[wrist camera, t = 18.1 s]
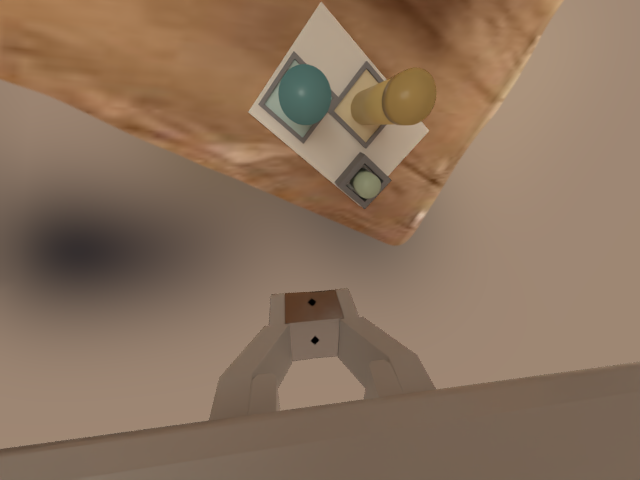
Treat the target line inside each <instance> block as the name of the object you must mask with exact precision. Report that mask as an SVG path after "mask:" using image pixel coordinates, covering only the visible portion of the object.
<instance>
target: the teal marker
mask: <svg viewBox="0 0 640 480" xmlns="http://www.w3.org/2000/svg"><path fill="white" fill-rule="evenodd" d="M278 96H279V102H280V106H281V108H282V110H283V112H284V113H285V115H286V116H287V117H288V118H289V119H290V120H291V121H293V122H295V123H297V124H300V125H312V124H315V123H317V122H318V121H320V120H321V119H322V118H323V117H324V116H325V115H326V113H327V111H328V109H329V107H330V103H331V88H330V84H329V82H328V80H327V78H326V76H325V75H324V74H323V73H322V71H320V70H319V69H318V68H316V67H314V66H312V65H308V64H300V65H296V66H294V67H292V68H291V69H289V70H288V71H287V72H286V73H285V74H284V76H283V78H282V79H281V82H280V85H279V91H278Z"/></svg>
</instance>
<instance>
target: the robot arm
mask: <svg viewBox="0 0 640 480" xmlns="http://www.w3.org/2000/svg"><path fill="white" fill-rule="evenodd" d="M335 356H338V358H339V359H340V360H341V361H342V362H343V364H344V365H345V366H346V367H347V368H348V369H349V370H350V371H351V373H353V375H354V376H355V377H356V378H357V379H358V381H359V382H360V383H361V384H362V385H363V386H364V387H365V395H364V400H356V401H349V402H342V403H334V404H327V405H320V406H312V407H305V408H298V409H291V410H283V411H280V405H279V396H278V388H279V386H280V384H281V382H282V380H283V379H284V377H285V375H286V373H287V371H288V369H289V368H290V366H291V364H292V361H298V360H306V359H312V358H323V357H335ZM0 480H640V362H634V363H627V364H620V365H613V366H605V367H598V368H591V369H583V370H576V371H568V372H561V373H554V374H546V375H539V376H532V377H525V378H517V379H510V380H502V381H495V382H488V383H481V384H473V385H466V386H458V387H451V388H444V389H436V388H435V387H434V385H433V383H432V381H431V379H430V377H429V375H428V374H427V372H426V370H425V368H424V367H423V365H422V363H421V361H420V359H419V358H418V356H417V355H416V354H415V353H414V352H412V351H411V350H409V349H408V348H407V347H405V346H404V345H402V344H401V343H399V342H398V341H397V340H395V339H394V338H392V337H391V336H390V335H388V334H387V333H385V332H384V331H383V330H381V329H380V328H378V327H377V326H375V325H374V324H373V323H371V322H370V321H368V320H367V319H366V318H364V317H359V315H358V312H357V310H356V307H355V304H354V302H353V299H352V297H351V294H350V292H349V289H348V288H344V289H335V290H327V291H315V292H299V293H285V294H272V295H271V298H270V313H269V326H264V327H263V329H262V330H261V331H260V332H259V333H258V334H257V335H256V337H255V338H254V339H253V340H252V341H251V342H250V343H249V344H248V346H247V347H246V348H245V349H244V350H243V351H242V352H241V354H240V355H239V356H238V357H237V358H236V359H235V360H234V362H233V363H232V364H231V365H230V366H229V367H228V368H227V370H226V371H225V372H224V373H223V374H222V375H221V376H220V378H219V381H218V385H217V389H216V394H215V397H214V402H213V406H212V410H211V414H210V418H209V421H202V422H195V423H187V424H181V425H173V426H165V427H158V428H151V429H143V430H136V431H129V432H121V433H114V434H107V435H100V436H93V437H85V438H78V439H70V440H63V441H55V442H48V443H41V444H34V445H26V446H19V447H12V448H4V449H0Z"/></svg>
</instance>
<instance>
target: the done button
mask: <svg viewBox="0 0 640 480" xmlns="http://www.w3.org/2000/svg"><path fill="white" fill-rule="evenodd" d="M350 184H351V186H352V187H353V188H354V190H355V191H356V192H357V193H358V194H359V195H360V196H361V197H363V198H365V199H370V198H373V197H375V196H376V195H377V194H378V193H379V191H380V188H381V182H380V180H379V178H378V177H377V176H375V175H374V174H372V173H371V172H369V171H368V170H366V169H363V168H361V169H360V170H359V171H358V172H357V173H356V174H355V175H354V177H353V178H352V179H351V180H350Z"/></svg>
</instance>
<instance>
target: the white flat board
mask: <svg viewBox="0 0 640 480" xmlns="http://www.w3.org/2000/svg"><path fill="white" fill-rule="evenodd" d="M300 64H308V65H312V66H314V67H316V68H318V69H319V70H320V71H322V73H323V74H324V75H325V76H326V78H327V80H328V82H329V84H330V88H331V103H330V107H329V109H328V111H327V113H326V115H325V116H324V117H323V118H322V119H321V120H320V121H318V122H317V123H315V124H312V125H300V124H297V123H295V122H293V121H291V120H290V119H289V118H288V117H287V116H286V115H285V113H284V112H283V110H282V108H281V106H280V102H279V96H278V91H279V85H280V82H281V79H282V78H283V76H284V74H285V73H286V72H287V71H288V70H289V69H291V68H292V67H294V66H296V65H300ZM385 80H386V78H385V77H384V76H383V75H382V74H381V72H380V71H379V70H378V69H377V68H376V66H375V65H374V64H373V63H372V62H371V60H370V59H369V58H368V57H367V56H366V54H365V53H364V52H363V51H362V50H361V48H360V47H359V46H358V45H357V44H356V43H355V41H354V40H353V39H352V38H351V37H350V35H349V34H348V33H347V32H346V31H345V29H344V28H343V27H342V26H341V25H340V23H339V22H338V21H337V20H336V19H335V17H334V16H333V15H332V14H331V13H330V11H329V10H328V9H327V8H326V7H325V5H324V4H323V3H322V2H321V3H320V4H319V6H318V7H317V9H316V10H315V12H314V13H313V15H312V16H311V18H310V19H309V21H308V22H307V24H306V25H305V27H304V28H303V30H302V31H301V33H300V34H299V36H298V37H297V39H296V40H295V42H294V43H293V45H292V46H291V48H290V49H289V51H288V52H287V54H286V55H285V57H284V58H283V60H282V62H281V63H280V65H279V66H278V68H277V69H276V71H275V72H274V74H273V75H272V77H271V78H270V80H269V81H268V83H267V84H266V86H265V87H264V89H263V90H262V92H261V93H260V95H259V96H258V98H257V99H256V101H255V102H254V104H253V105H252V107H251V108H250V110H249V111H248V112H249V113H250V114H251V115H252V116H253V117H255V118H256V119H257V120H258V121H259V122H260V123H262V124H263V125H264V126H265V127H266V128H268V129H269V130H270V131H271V132H272V133H274V134H275V135H276V136H277V137H278V138H279V139H281V140H282V141H283V142H284V143H285V144H287V145H288V146H289V147H290V148H291V149H293V150H294V151H295V152H296V153H297V154H298V155H300V156H301V157H302V158H303V159H304V160H306V161H307V162H308V163H309V164H310V165H312V166H313V167H314V168H315V169H316V170H317V171H319V172H320V173H321V174H322V175H323V176H325V177H326V178H327V179H328V180H329V181H331V182H332V183H333V184H334V185H335V186H336V187H338V188H339V189H340V190H341V191H342V192H344V193H345V194H346V195H347V196H348V197H350V198H351V199H352V200H353V201H354V202H355V203H357V204H358V205H359V206H362V207H363V208H364V209H366V207H367V206H368V205H369V204H370V203H371V202H372V201H373V200H374V199H375V198H376V197H377V195H378V194H379V193H380V192H381V191H382V190H383V189H384V188H385V187H386V186H387V185H388V184H389V182H390V181H391V179H390V178H389V177H388V176H389V174H390V173H391V172H392V171H393V170H394V169H395V168H396V167H397V166H398V165H399V163H400V162H401V161H402V160H403V159H404V158H405V157H406V156H407V155H408V154H409V153H410V151H411V150H412V149H413V148H414V147H415V146H416V145H417V144H418V143H419V142H420V140H421V139H422V138H423V137H424V136H425V135H426V134H427V133H428V132H429V130H428V129H427V127H426V126H425V125H424V124H423V123H422V121H421V122H419V123H417V124H415V125H396V124H389V125H361V124H359V123H357V122H356V121H355V120H354V119H353V117H352V114H351V103H352V100H353V98H354V97H355V95H356V94H357V93H359V92H360V91H362V90H365V89H367V88H369V87H372V86H374V85H376V84H379V83H381V82H383V81H385ZM361 168H363V169H366V170H368V171H369V172H371V173H372V174H374V175H375V176H377V177H378V178H379V180H380V182H381V188H380V191H379V193H378V194H377V195H376V196H375V197H373V198H370V199H365V198H363V197H361V196H360V195H359V194H358V193H357V192H356V191H355V190H354V188H353V187H352V186H351V184H350V180H351V179H352V178H353V177H354V175H355V174H356V173H357V172H358V171H359V170H360V169H361Z"/></svg>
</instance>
